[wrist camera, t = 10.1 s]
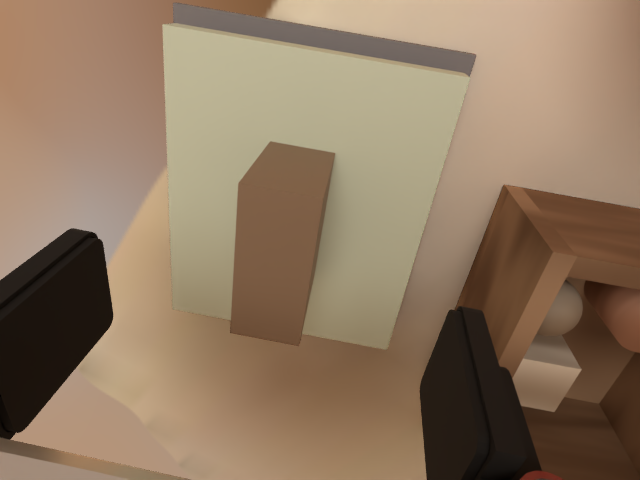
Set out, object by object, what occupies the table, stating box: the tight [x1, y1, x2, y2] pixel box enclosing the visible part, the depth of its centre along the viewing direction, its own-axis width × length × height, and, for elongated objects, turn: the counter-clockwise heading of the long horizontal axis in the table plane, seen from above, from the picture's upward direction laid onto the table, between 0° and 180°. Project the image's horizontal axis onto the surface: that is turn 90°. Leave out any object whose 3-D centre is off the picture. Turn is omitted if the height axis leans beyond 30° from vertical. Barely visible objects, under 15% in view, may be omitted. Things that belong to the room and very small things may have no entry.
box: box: [455, 185, 640, 480], centre depth 19 cm, size 12×10×6 cm
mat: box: [173, 3, 476, 77], centre depth 20 cm, size 14×12×1 cm
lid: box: [163, 23, 470, 350], centre depth 17 cm, size 13×11×7 cm
